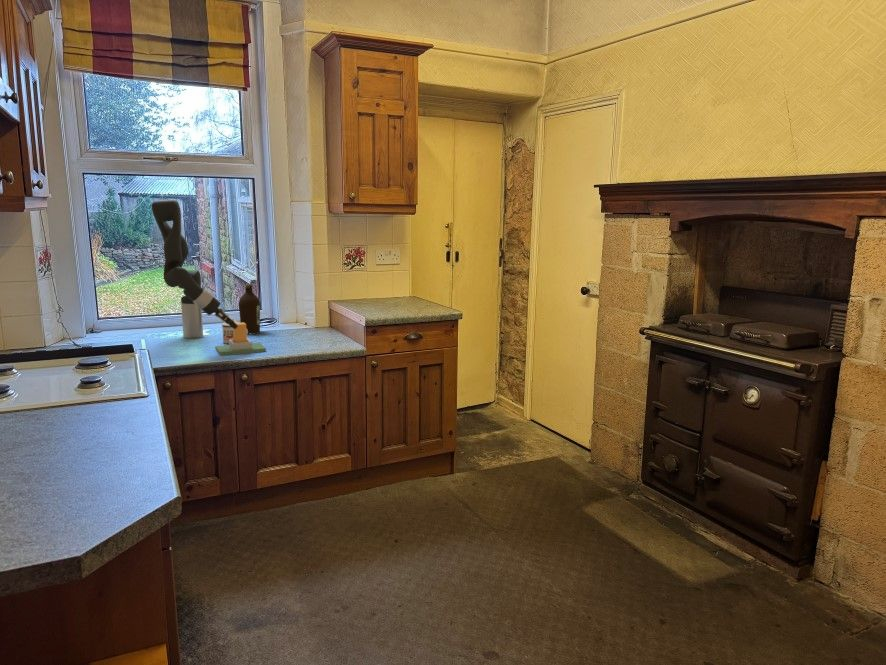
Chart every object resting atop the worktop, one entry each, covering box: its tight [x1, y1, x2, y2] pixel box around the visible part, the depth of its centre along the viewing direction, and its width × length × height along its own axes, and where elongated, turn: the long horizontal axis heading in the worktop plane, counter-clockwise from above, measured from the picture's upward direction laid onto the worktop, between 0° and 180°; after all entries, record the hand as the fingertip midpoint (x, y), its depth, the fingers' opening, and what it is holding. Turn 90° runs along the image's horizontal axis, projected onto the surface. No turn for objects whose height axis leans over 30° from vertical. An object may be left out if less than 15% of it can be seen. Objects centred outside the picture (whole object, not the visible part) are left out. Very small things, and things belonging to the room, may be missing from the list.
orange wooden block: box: [233, 322, 248, 343], centre depth 277 cm, size 5×5×11 cm
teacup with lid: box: [221, 317, 249, 345], centre depth 293 cm, size 12×9×12 cm
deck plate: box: [214, 337, 267, 356], centre depth 278 cm, size 13×20×4 cm, turn 118°
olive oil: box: [238, 284, 261, 334], centre depth 314 cm, size 11×11×25 cm
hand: (234, 325), depth 275 cm, fingers open, 8 cm apart
